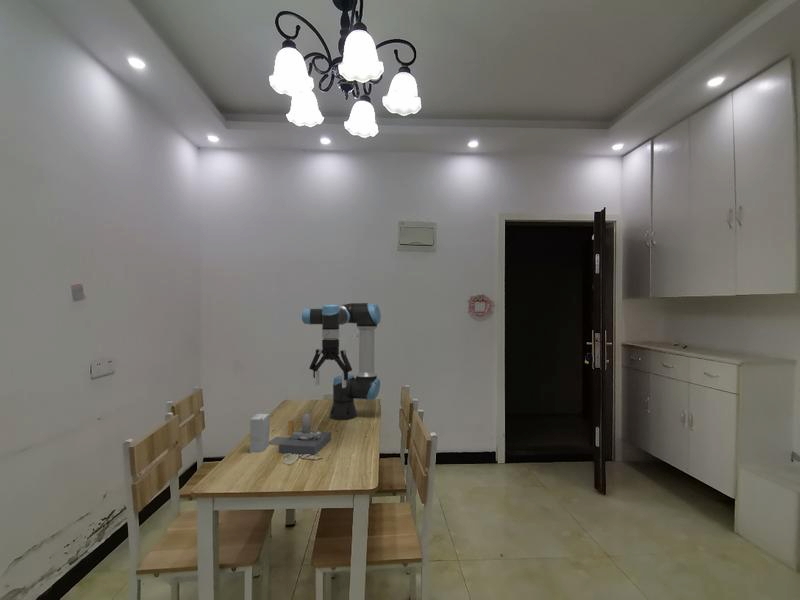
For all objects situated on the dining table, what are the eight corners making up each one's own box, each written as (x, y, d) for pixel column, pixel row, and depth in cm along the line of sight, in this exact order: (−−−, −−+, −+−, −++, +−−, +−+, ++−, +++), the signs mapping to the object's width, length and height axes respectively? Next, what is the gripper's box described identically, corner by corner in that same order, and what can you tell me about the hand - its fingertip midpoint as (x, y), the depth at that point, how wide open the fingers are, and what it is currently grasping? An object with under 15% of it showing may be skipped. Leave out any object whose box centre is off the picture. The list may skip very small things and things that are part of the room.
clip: (293, 431, 180) (293, 418, 180) (322, 433, 177) (322, 419, 177) (288, 435, 175) (288, 421, 175) (318, 436, 172) (318, 422, 172)
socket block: (298, 438, 188) (298, 426, 188) (330, 440, 185) (331, 427, 185) (279, 454, 168) (279, 440, 168) (314, 456, 166) (314, 442, 166)
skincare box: (256, 446, 177) (256, 413, 178) (269, 446, 177) (270, 413, 177) (249, 453, 169) (249, 418, 169) (263, 453, 169) (263, 418, 169)
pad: (276, 438, 189) (276, 436, 189) (295, 439, 187) (295, 437, 187) (265, 445, 179) (265, 443, 179) (286, 446, 177) (286, 445, 177)
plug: (302, 442, 181) (302, 412, 181) (316, 443, 180) (316, 412, 180) (295, 448, 174) (296, 416, 174) (310, 448, 173) (310, 416, 173)
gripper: (301, 338, 178) (301, 386, 178) (352, 340, 170) (352, 389, 170) (310, 337, 185) (310, 383, 185) (359, 338, 177) (359, 386, 177)
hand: (330, 386), depth 177 cm, fingers open, 13 cm apart
